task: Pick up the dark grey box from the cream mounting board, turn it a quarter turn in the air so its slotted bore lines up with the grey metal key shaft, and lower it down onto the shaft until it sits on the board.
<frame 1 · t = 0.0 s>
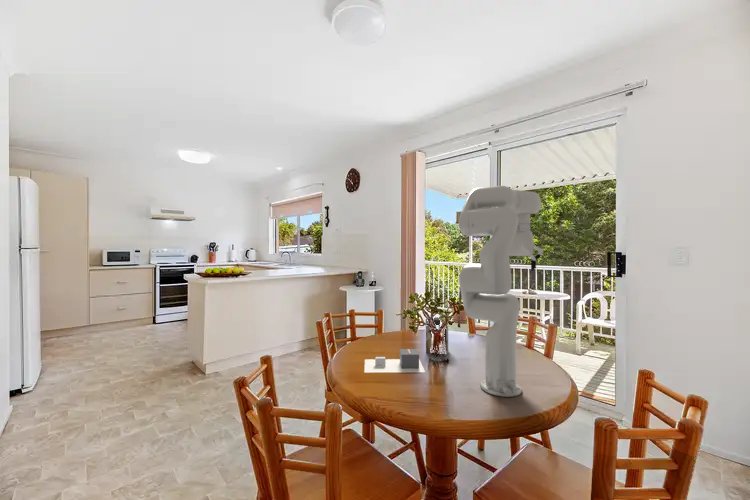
hand: (519, 270, 137), 37 cm above the table, tool pointing down, fingers open, 9 cm apart
dark grey box: (409, 365, 128), point 1 cm above the table, touching hub board
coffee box: (437, 356, 144), on the table
hub board: (393, 369, 128), on the table
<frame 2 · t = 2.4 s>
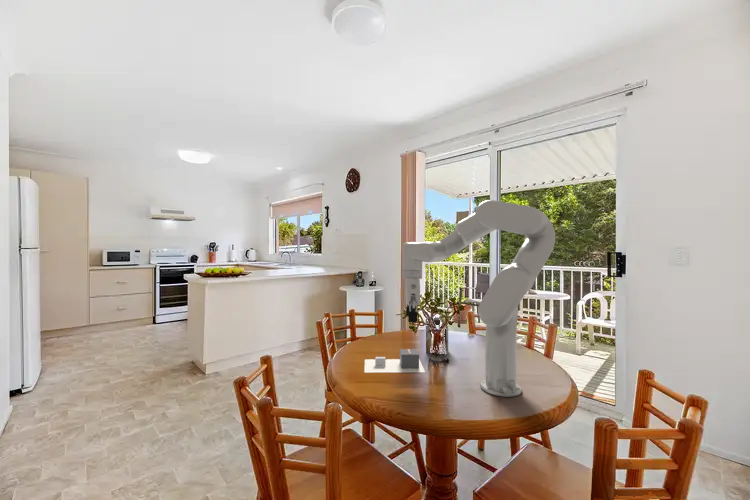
hand: (411, 319, 128), 19 cm above the table, tool pointing down, fingers open, 9 cm apart
nothing on the table moved.
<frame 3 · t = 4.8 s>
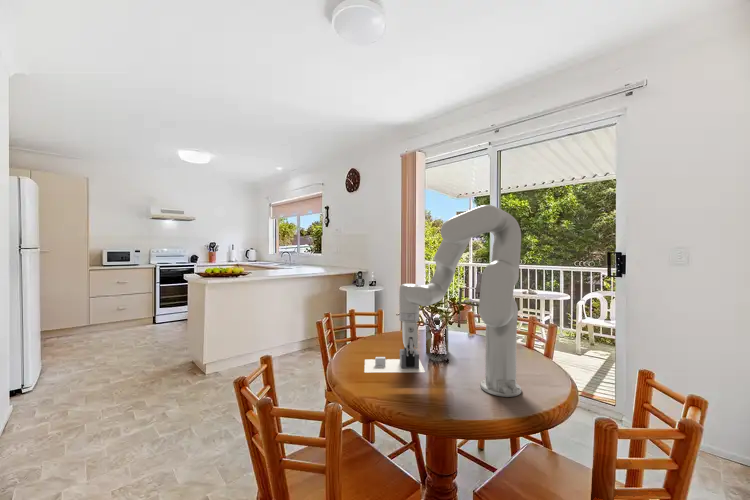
hand: (409, 362, 128), 3 cm above the table, tool pointing down, fingers closed on dark grey box, 6 cm apart
dark grey box: (409, 365, 128), point 2 cm above the table, touching gripper, hub board
everything else where it was.
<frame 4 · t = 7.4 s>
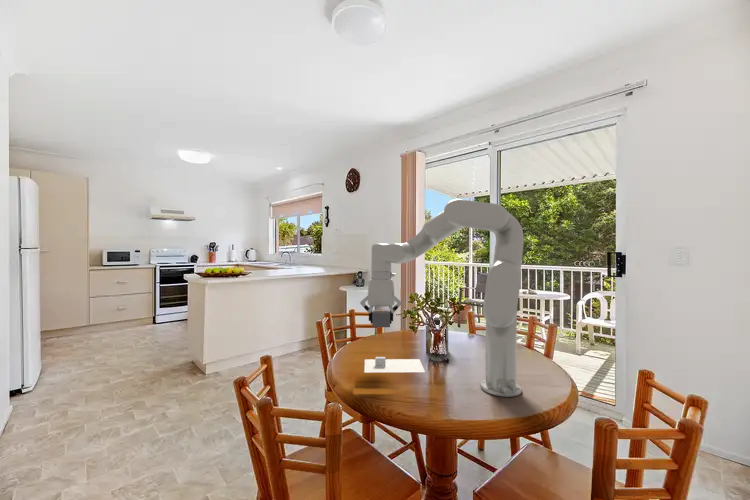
hand: (380, 322, 127), 18 cm above the table, tool pointing down, fingers closed on dark grey box, 6 cm apart
dark grey box: (380, 325, 127), point 17 cm above the table, touching gripper
everything else where it was.
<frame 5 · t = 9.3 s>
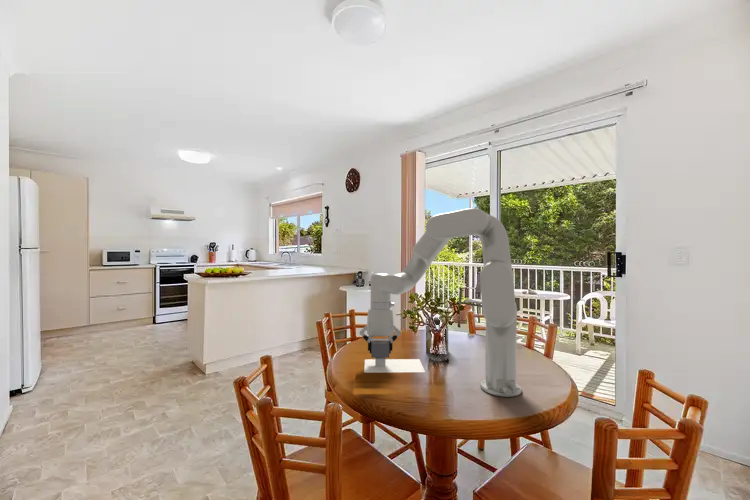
hand: (380, 352, 128), 7 cm above the table, tool pointing down, fingers closed on dark grey box, 6 cm apart
dark grey box: (380, 354, 128), point 6 cm above the table, touching gripper
everything else where it was.
when the fingers open (3 cm above the table, at t = 10.5 s): dark grey box stays where it is, resting on hub board.
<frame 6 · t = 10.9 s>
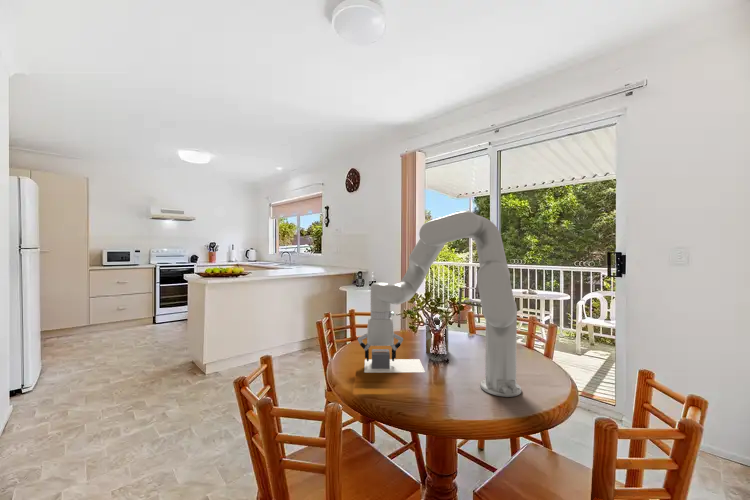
hand: (380, 360, 127), 4 cm above the table, tool pointing down, fingers open, 9 cm apart
dark grey box: (380, 365, 127), point 1 cm above the table, touching hub board
everything else where it was.
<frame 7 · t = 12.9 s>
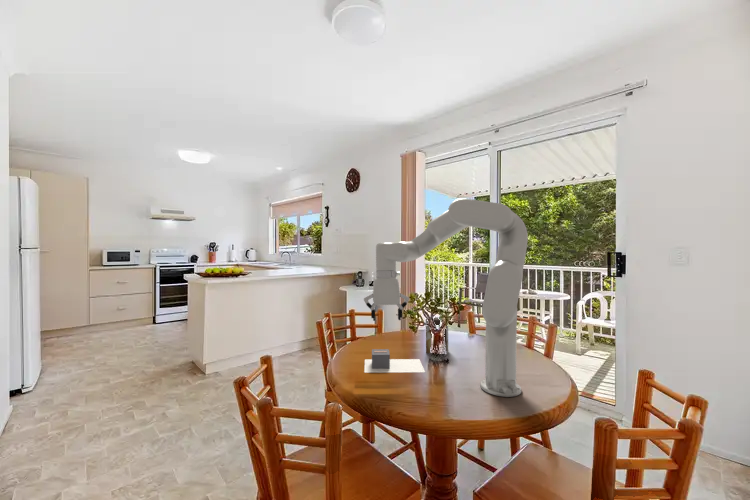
hand: (386, 319, 128), 19 cm above the table, tool pointing down, fingers open, 9 cm apart
nothing on the table moved.
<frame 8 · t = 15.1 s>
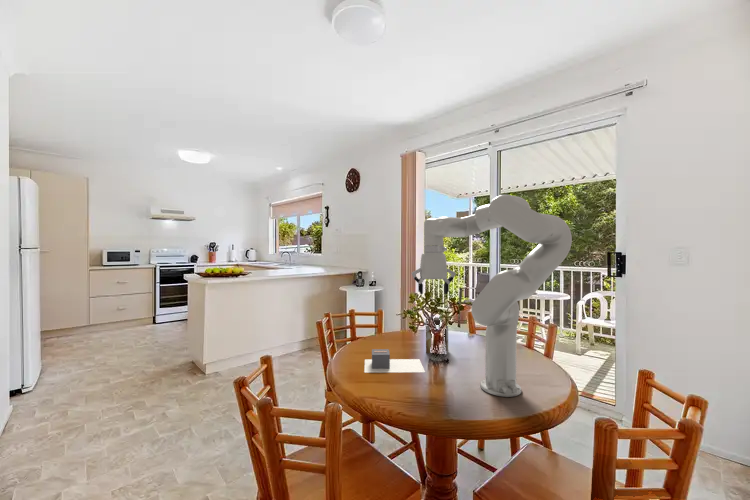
hand: (433, 293, 132), 28 cm above the table, tool pointing down, fingers open, 9 cm apart
nothing on the table moved.
at the end: dark grey box 0.1 cm from the target spot on the hub board, point 1.5 cm above the hub board's base; dark grey box tilted 0°; the gripper is holding nothing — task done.
